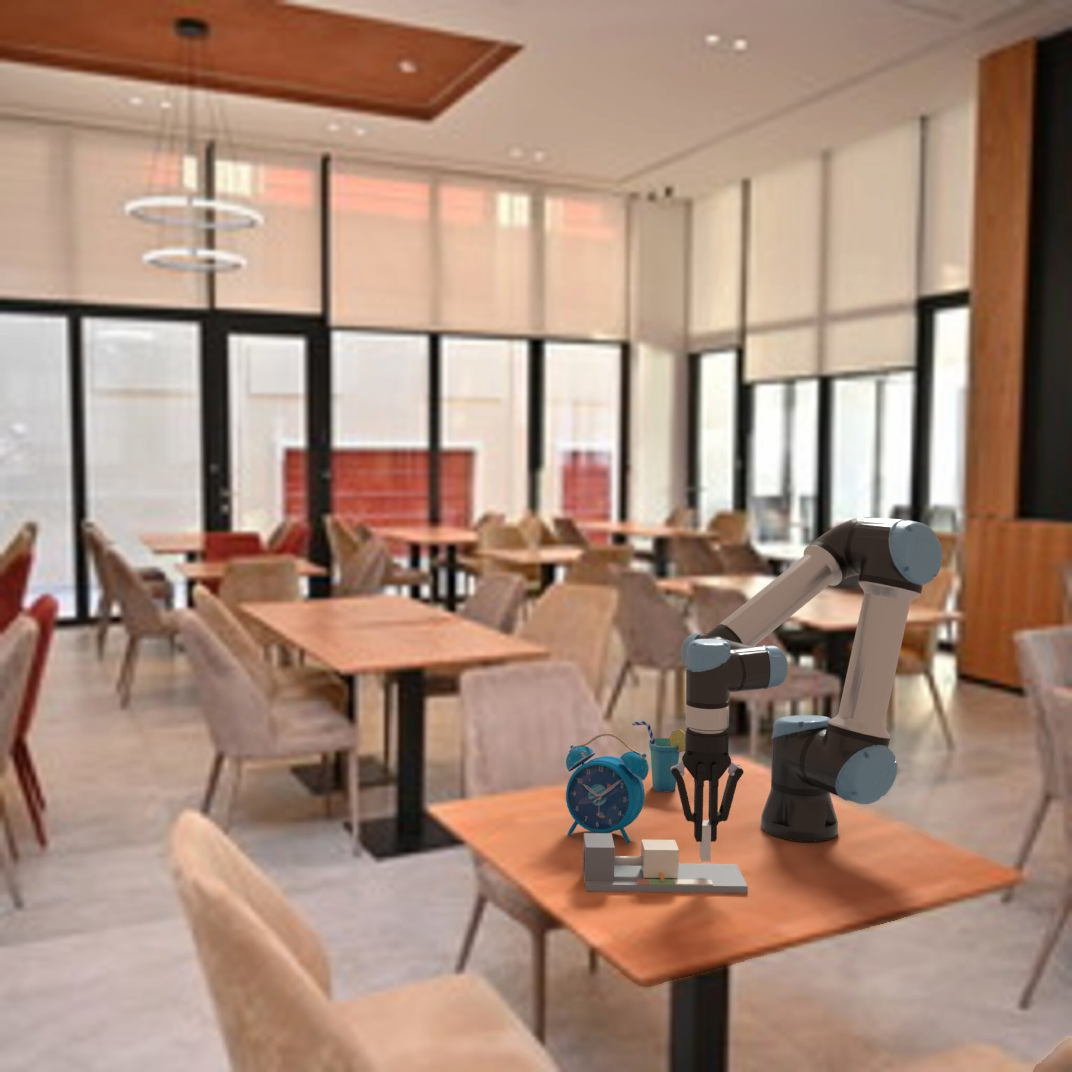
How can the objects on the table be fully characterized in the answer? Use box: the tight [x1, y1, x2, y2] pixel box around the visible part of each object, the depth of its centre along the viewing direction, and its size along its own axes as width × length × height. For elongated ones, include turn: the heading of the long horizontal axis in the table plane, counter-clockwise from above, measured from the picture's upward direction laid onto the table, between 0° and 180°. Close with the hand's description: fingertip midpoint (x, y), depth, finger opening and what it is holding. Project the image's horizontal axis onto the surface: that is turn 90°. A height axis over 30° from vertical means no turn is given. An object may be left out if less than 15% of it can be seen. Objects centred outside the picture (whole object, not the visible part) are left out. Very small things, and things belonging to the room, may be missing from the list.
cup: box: [631, 720, 685, 793], centre depth 241 cm, size 14×8×15 cm, turn 65°
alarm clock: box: [565, 732, 650, 845], centre depth 210 cm, size 17×10×20 cm, turn 70°
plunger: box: [614, 839, 680, 881], centre depth 187 cm, size 14×7×5 cm, turn 90°
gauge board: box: [582, 832, 749, 894], centre depth 189 cm, size 28×10×7 cm, turn 90°
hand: (705, 858), depth 189 cm, fingers closed
